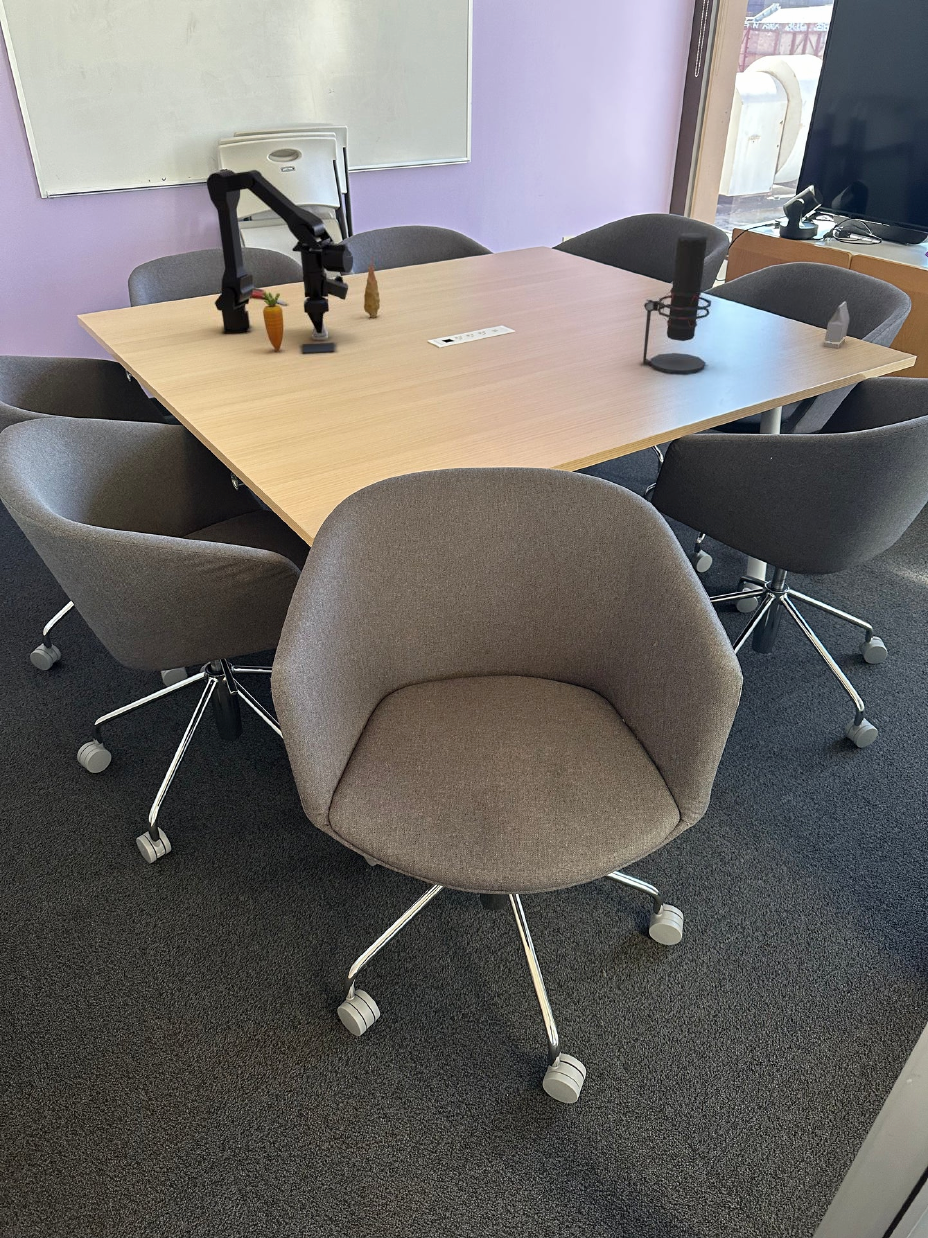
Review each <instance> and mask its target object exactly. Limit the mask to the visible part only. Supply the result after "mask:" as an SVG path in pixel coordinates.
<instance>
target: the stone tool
mask: <svg viewBox="0 0 928 1238" xmlns="http://www.w3.org/2000/svg"><path fill="white" fill-rule="evenodd" d="M363 299H364V300H363V302H364V303H363V309H364V312H365V313H367V314H368V315H369V317H371V318H372V319H374V318H376V317H377V316H378V313H379V312H378V311H379V310H380V306H381V304H380V302H381V298H380V292H379V285H378V280H377V278H376V275H375V269H374V265H373V262H370V264H369V268H368V272H367V278H366V286H365V289H364V295H363Z"/></svg>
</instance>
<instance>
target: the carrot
mask: <svg viewBox="0 0 928 1238" xmlns="http://www.w3.org/2000/svg"><path fill="white" fill-rule="evenodd" d="M263 295H264V296H265V298H266V299H265V298H264V299H263V302H264V303H265V304H266V306H264V308H263V309H262V314H263V315H262V316H263V321H264V326H265V330H266V334H267V337H268V340H269V342H270V344H271V345H272V347H273V348H274V350H275V352H279V351H280V349H281V346H282V343H283V339H284V315H283V314H284V313H283V309H282V307H281V306H280V305H278V304H277V300H279V298H280V296H281V293H279V292H277V293H276V294H275V296H273V294H272V292H267V290H265V292H263ZM269 296H270V297H269ZM270 298H271V299H270ZM274 298H275V299H274Z"/></svg>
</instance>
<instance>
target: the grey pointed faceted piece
mask: <svg viewBox="0 0 928 1238" xmlns="http://www.w3.org/2000/svg"><path fill="white" fill-rule="evenodd" d="M850 319H851V318H850V314H849V311H848V305H847V301H843V302H842V303H841V304H840V305H839V306H838V307H837V309H836V311H835V312H834V314H833V316H832V317H831V318H830V320H829V321H828V323H827V326H826V331H825V332H826V333H825V335H824V340H825V341H830V342H840V341H841V340H842V339H843V337H847V332H848V329H849V324H850ZM845 342H846V338H845V339H844V340H843V341H842V342H841V343H840V344H839V345H838V344H832V343H825V342H824V341H823V347H826V348H832V349H839V348H840V347H841V346H843V344H844V343H845Z"/></svg>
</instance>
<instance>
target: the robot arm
mask: <svg viewBox="0 0 928 1238" xmlns="http://www.w3.org/2000/svg"><path fill="white" fill-rule="evenodd" d="M206 188H207V192H208V195H209V198H210V201H211V202H212V205H214V207H215V210H216V211H217V217H218V218H217V219H218V227H219V232H220V233H219V234H220V241H221V242H220V243H221V248H222V256H223V257H222V258H223V263H224V271H223V274H222V278H221V285H220V286H221V290H220V291H221V293H220V295H218V297H217V298H216V300H215V301H214V305H215V307H216V309H217V311H220V312H221V316H222V323H223V333H224V334H238V333H241V334H242V333H249V330H250V328H251V319H250V314H249V310H247V308H246V307H247V306H246V305H249V303H250V297H251V295H252V294H253V289H255V288H256V287H255V285H254V276H253V273H250V272H249V273H248V272H247V270H246V268H245V267H244V260H243V258H244V257H243V251H242V242H241V234H240V227H239V226H240V225H239V218H238V217H239V216H238V206H239V203H240V199H241V191H243V190H249V191H250V192H251V193H252V194H253V195H254V196H256V198H258V199H259V200H260V201H261V202H263V203H264V205H266V206H267V207H268V208H269V209H270V210H272V211H273V212H274V213H275V214H276V215H278V216H279V218H281V219H282V220H283V221H284V222H285V224H286V226H287V228H288V230H289V232H290V233H291V234H292V235H293V237H295V239H296V240H297V243H296V244H295V245H294V247H292V248H291V249H292V252H297V253H300V259H301V260H300V261H301V269H302V281H303V289H304V292H303V293H304V298H305V299H304V301H303V311H304V313H305V314H307V316H308V318H309V320H310V321H311V323H312V325H313V328H314V327H315V329H316V331H317V333H322V324H323V322H324V318H323V317H324V315H325V314H326V313H328V312H330V307H329V296H333V297H336V298H338V299H340V300H344V301H345V300H346V298H347V294H348V291H349V284H347V282H344V278H343V276H342V275H336V276H335V278H329V277H328V276H327V272H330V273H331V272H332V273H344V274H345V273H346V274H349V273H351V272H352V269H353V265H354V256H353V254H352V251H351V249H349V244H348V243H335V240H334V239H333V237H332V236H331V235H330V233H329V232H328V230H327V229H326V228H325V223H324V222H323V220H322V218H320V216H317V215H316V214H314V213H312V212H311V211H309V210H306V209H304V208H302V207H300V206H298V205H296V204H295V203H294V202H293V201H292V200H291V199H289V198H288V197H287V196H286V195H285V194H284V193H282V191H280V190H279V189H278V188H277V187H276V186H275V185H273V184H272V183H271V182H270V181H269V180H268V179H267V178H266V177H264V176H263V174H262V173H261V172H260V171H259V170H257V169H251V170H248V171H241V172H235V171H233V170H231V169H224V170H221V171H217V172H212V173H211V174H210V175H208V177H207V179H206ZM326 271H327V272H326ZM251 298H252V297H251Z"/></svg>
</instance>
